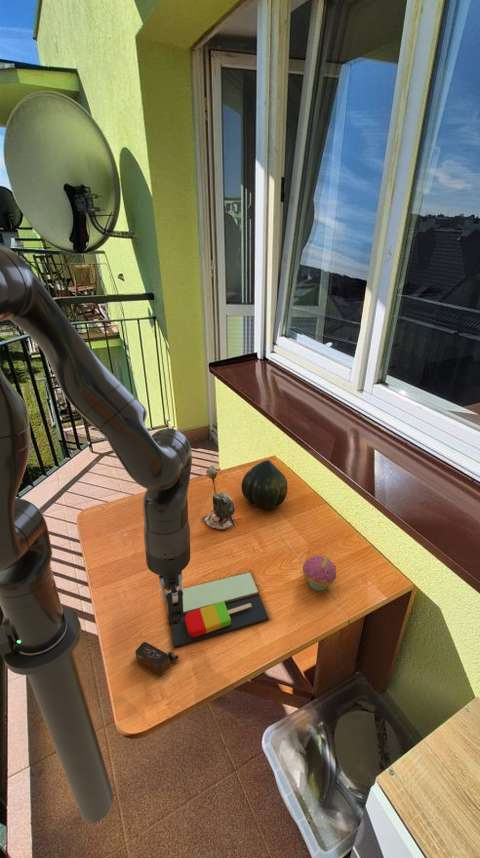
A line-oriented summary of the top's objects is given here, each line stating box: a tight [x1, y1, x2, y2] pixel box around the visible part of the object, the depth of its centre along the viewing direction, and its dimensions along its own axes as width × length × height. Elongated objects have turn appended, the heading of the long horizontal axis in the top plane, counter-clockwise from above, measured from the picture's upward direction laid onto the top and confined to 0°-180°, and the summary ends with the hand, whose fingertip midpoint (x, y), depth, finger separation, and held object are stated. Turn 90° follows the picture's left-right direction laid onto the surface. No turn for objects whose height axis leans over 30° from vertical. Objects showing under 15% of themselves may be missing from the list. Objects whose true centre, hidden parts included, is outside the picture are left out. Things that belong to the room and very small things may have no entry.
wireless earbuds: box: [134, 641, 180, 676], centre depth 75 cm, size 5×7×3 cm, turn 65°
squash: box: [240, 459, 288, 511], centre depth 123 cm, size 14×15×15 cm
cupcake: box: [302, 553, 337, 591], centre depth 94 cm, size 9×8×12 cm
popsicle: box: [185, 601, 252, 637], centre depth 85 cm, size 6×15×2 cm, turn 115°
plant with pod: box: [202, 465, 237, 531], centre depth 109 cm, size 8×11×20 cm
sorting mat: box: [165, 572, 270, 649], centre depth 88 cm, size 21×14×1 cm, turn 112°
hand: (171, 604), depth 72 cm, fingers open, 8 cm apart
